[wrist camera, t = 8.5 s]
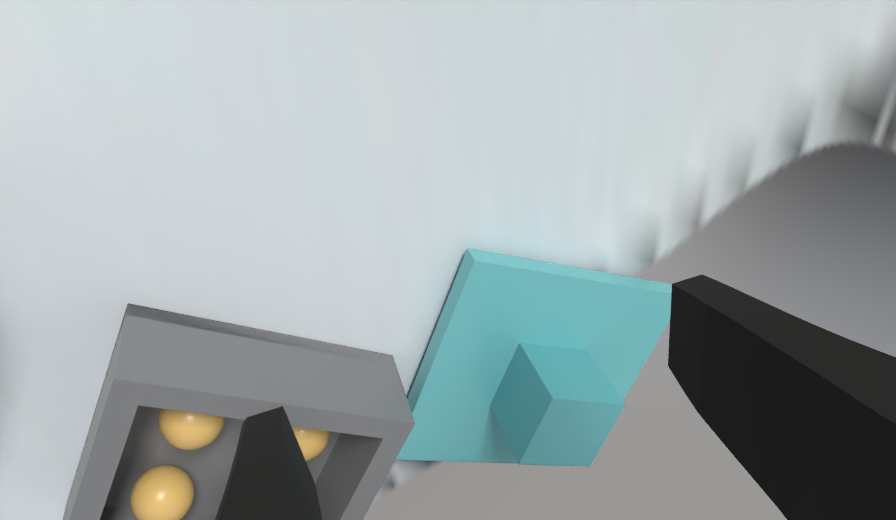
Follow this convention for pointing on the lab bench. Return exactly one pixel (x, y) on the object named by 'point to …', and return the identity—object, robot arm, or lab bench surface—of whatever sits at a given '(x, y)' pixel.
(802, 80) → the lab bench surface
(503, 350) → the lid
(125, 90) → the lab bench surface
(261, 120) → the lab bench surface
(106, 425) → the box
